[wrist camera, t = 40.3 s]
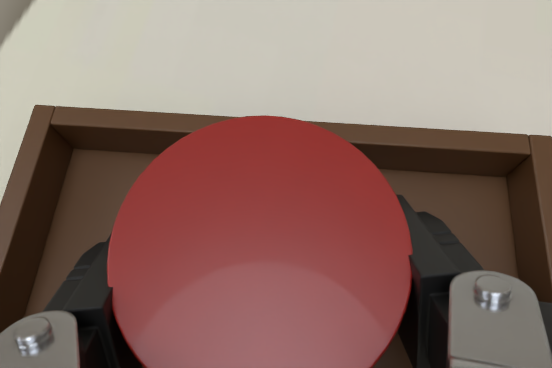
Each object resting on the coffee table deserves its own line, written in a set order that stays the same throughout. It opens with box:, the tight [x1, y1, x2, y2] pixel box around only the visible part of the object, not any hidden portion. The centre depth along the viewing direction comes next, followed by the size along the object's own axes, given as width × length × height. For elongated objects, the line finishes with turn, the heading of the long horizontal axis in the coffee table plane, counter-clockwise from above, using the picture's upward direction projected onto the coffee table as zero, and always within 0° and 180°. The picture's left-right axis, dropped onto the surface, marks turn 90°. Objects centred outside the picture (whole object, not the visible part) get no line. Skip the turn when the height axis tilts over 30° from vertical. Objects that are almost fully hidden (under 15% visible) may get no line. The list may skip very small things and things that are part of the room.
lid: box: [107, 116, 413, 368], centre depth 9 cm, size 6×6×2 cm
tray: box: [0, 105, 552, 368], centre depth 11 cm, size 14×10×2 cm
